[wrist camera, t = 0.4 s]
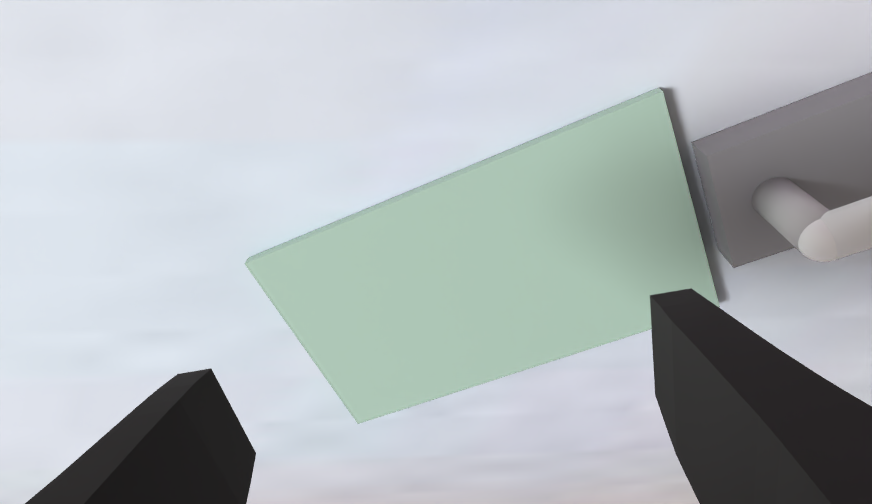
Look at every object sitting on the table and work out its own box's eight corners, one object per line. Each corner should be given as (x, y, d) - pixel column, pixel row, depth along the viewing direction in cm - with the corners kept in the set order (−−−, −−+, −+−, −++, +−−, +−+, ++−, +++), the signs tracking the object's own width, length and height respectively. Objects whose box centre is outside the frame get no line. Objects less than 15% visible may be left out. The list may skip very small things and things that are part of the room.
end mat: (715, 300, 20) (719, 307, 20) (359, 416, 23) (357, 424, 23) (658, 87, 17) (663, 91, 16) (248, 257, 20) (244, 263, 19)
